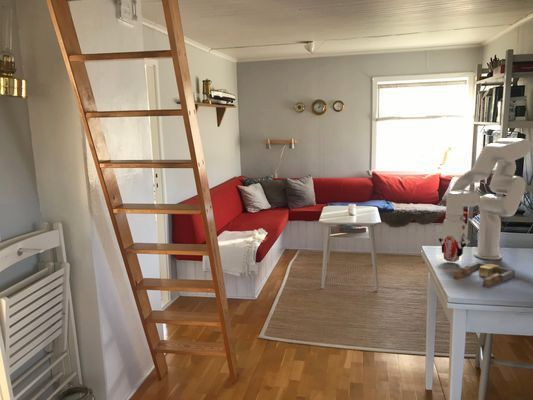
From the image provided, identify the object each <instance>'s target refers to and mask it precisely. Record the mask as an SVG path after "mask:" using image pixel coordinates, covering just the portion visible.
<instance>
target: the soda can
mask: <svg viewBox="0 0 533 400" xmlns="http://www.w3.org/2000/svg"><path fill="white" fill-rule="evenodd" d="M458 248H459V246H458V243H457V242H456V240H455V239H454V237H448V236H447V237H446V238H445V241H444V253H443V259H444V260H445V261H446V262H449V263H450V262H451V263H452V262H453V263H456V262H459V260H460V256H459V257H458V256H457V251H458Z"/></svg>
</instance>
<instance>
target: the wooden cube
mask: <svg viewBox="0 0 533 400" xmlns="http://www.w3.org/2000/svg"><path fill="white" fill-rule="evenodd" d="M486 264H487V265H486V266H490V267H494V268H493V275H494V274H496V273H498V274H499V267H500V265H499V264H494V263H486Z"/></svg>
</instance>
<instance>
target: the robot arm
mask: <svg viewBox="0 0 533 400" xmlns="http://www.w3.org/2000/svg"><path fill="white" fill-rule="evenodd" d="M531 148H532V145H531V143H530V141H529V140H528V139H526V138H509V137H508V138H499V139H496V140H495V141H494V143H489V144H486V145H485V146H483V148H482V149H481V151H480V153H479V154H478V157H477V158H476V161H475V163H474V165H473V166H472V168H471V169H470V170H468V171H467V172H465V173H464V174H463V175H461V176H460V177H459V178H458V179H456V181H455V182H454V184H453V186H452V188H451V189H450V191H449V192H447V194H446V202H445V203H446V204H445V205H446V206H445V219H443V222H442V226H441V231H440V232H439V233H438V234H436V238H437V239H438V241H439V243H440V245H441V253H442V254H444V241H445V238H446V237H447V236H448V237H454V239H455V240H456V242H457V243H458V246H459V248H458V251H457V256H458V257H459V258H460V257H462V256H463V251H464V248H465V247H467V246H468V245H469V243H470V242H471V241H470V239H469V238H468V237H467V236H466V235H467V234H466V223H465V220H466V216H464V207H468V208H474V207H477V206H478V210H479V224H478V225H479V226H478V238H477V239H478V240H477V241H478V242H477V251H473V255H474V257H476V258H479V259H483V260H492V261H493V260H494V261H496V260H501V259H502V258H503V257H502V254H500V253H499V252H500V250H501V248H502V247H500V241H501V240H500V239H501V226H502V221H501V217H512V216H514V215H515V214H516V212H517V210H518V208H519V206H520V204H521V201H522V199H523V196H524V194H525V192H526V181H525V179H524V178H523V177H522V176H518V175H515V173H516V169H517V165H516V160H519V159H522V158H524V157H526V156H527V155H528V154H529V153H530V152H531ZM495 166H496V168H495ZM494 168H495V171H494V173H493V175H492V176H491V174H492V172H493V170H494ZM490 176H491V180H490V183H489V189H490V191H491V192H492V193H488V194H484V195H482V196H481V194H479V193H478V192H476V191H474V190H467V188H468V187H469V186H470V185H472V184H474V183H477V182H480V181H484V180H486V179H488V178H489V177H490ZM494 193H495V194H494ZM504 195H505V196H504ZM500 216H501V217H500Z"/></svg>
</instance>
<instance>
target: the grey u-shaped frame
mask: <svg viewBox="0 0 533 400" xmlns="http://www.w3.org/2000/svg"><path fill="white" fill-rule="evenodd" d="M487 264H488V263H484V262H480V261H476V262H472V263H470V264H468V265H465V266H464V267H467V266H469V267H471V272H473V271H476V270H478V269H479V267H480V266H484V265H487ZM515 273H516V270H514V269H510V268H507V267H501V266H499V274H500V281H499V282H505V281H507V280H510V279H511V278H513V277H515Z"/></svg>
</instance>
